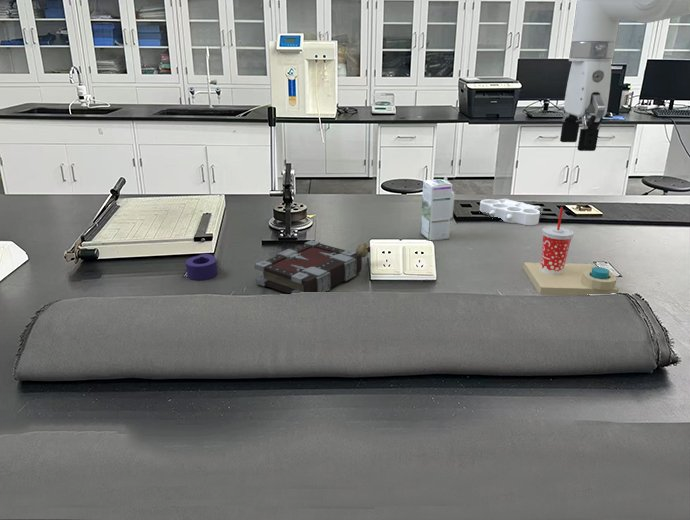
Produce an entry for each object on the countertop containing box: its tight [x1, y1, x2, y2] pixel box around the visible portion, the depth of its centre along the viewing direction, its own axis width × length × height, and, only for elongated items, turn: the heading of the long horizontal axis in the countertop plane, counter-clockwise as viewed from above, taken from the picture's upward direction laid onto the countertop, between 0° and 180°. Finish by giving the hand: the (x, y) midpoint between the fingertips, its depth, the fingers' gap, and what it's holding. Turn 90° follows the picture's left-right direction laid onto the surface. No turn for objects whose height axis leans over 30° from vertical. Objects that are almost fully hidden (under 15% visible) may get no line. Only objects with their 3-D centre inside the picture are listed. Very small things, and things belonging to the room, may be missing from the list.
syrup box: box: [420, 178, 453, 241], centre depth 135 cm, size 6×6×14 cm
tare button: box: [591, 266, 611, 279], centre depth 106 cm, size 3×3×2 cm
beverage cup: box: [540, 206, 575, 275], centre depth 110 cm, size 6×6×14 cm
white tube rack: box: [479, 198, 544, 227], centre depth 153 cm, size 3×18×15 cm
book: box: [254, 239, 371, 294], centre depth 114 cm, size 15×25×5 cm, turn 143°
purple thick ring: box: [185, 253, 218, 281], centre depth 116 cm, size 12×6×3 cm, turn 9°
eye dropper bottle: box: [443, 176, 456, 220], centre depth 150 cm, size 4×6×12 cm
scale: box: [522, 261, 619, 296], centre depth 110 cm, size 15×14×4 cm
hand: (576, 146), depth 104 cm, fingers open, 9 cm apart
